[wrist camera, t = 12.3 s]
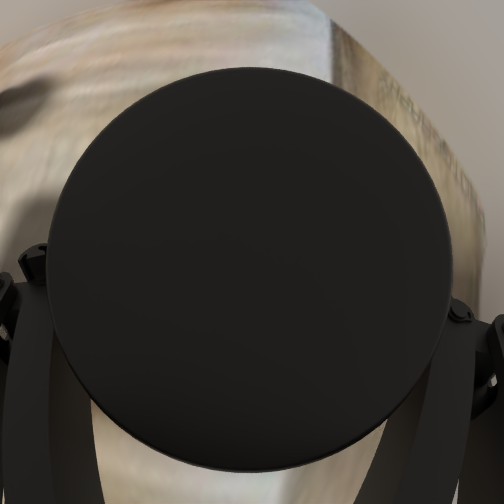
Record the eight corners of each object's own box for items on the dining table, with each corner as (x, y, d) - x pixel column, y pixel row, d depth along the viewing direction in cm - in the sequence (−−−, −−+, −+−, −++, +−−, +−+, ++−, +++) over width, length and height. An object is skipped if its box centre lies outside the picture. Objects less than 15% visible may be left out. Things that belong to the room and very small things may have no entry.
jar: (364, 290, 17) (521, 270, 5) (259, 391, 16) (249, 542, 4) (255, 179, 18) (239, 11, 6) (152, 275, 17) (-9, 235, 5)
